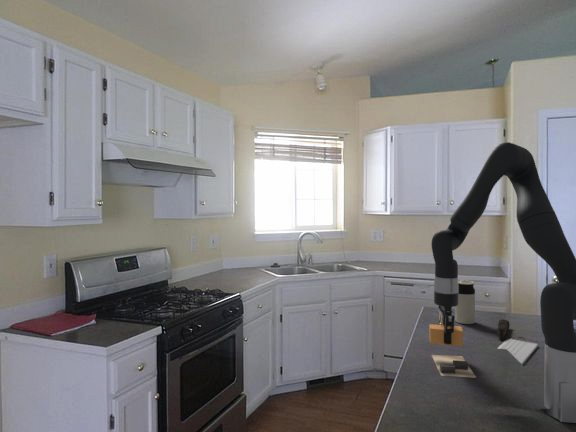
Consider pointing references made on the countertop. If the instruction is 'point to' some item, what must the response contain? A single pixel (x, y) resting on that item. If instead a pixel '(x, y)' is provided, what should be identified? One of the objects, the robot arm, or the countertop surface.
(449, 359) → the plywood board
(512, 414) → the countertop surface
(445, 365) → the charcoal stick
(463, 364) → the charcoal stick
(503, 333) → the brown pointed piece
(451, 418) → the countertop surface
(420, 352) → the countertop surface
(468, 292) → the travel mug
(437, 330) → the block
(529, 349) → the baseboard
